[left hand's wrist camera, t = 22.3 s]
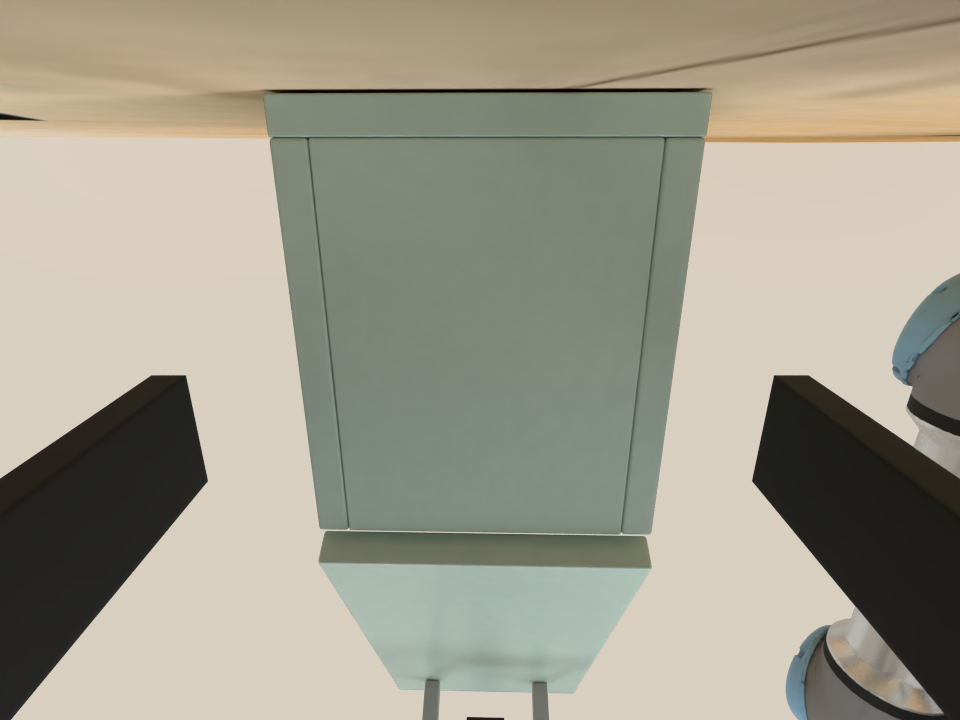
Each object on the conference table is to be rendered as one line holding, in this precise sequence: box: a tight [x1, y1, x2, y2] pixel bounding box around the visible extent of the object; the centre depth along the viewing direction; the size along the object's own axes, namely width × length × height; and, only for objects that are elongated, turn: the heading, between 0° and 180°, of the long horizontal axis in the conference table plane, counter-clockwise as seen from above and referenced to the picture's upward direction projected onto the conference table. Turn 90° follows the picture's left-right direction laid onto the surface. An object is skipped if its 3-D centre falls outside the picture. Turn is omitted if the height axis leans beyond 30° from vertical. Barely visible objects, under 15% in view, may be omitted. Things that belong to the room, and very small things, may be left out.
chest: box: [263, 92, 712, 534], centre depth 21 cm, size 18×9×11 cm, turn 2°
